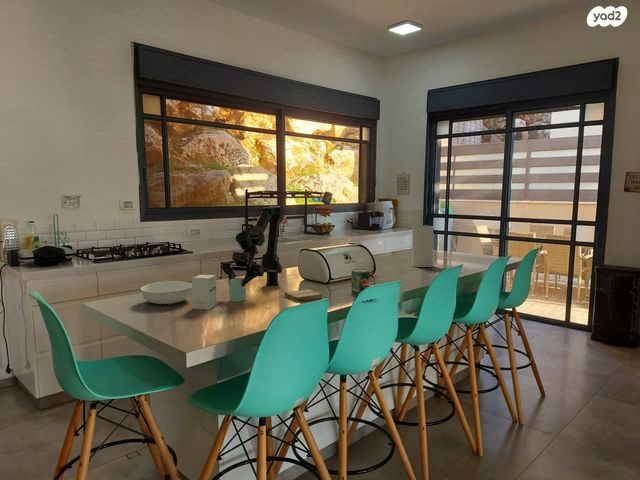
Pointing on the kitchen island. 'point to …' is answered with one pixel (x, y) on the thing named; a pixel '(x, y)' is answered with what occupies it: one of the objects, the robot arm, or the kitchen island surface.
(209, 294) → the supplement box
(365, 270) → the canned tomato
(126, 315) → the kitchen island surface
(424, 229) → the cylinder vase
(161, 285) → the serving bowl
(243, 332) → the kitchen island surface
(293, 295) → the walnut board
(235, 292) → the teal block
